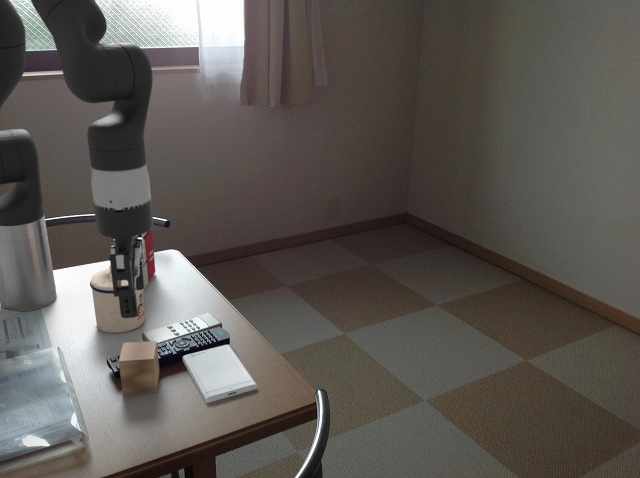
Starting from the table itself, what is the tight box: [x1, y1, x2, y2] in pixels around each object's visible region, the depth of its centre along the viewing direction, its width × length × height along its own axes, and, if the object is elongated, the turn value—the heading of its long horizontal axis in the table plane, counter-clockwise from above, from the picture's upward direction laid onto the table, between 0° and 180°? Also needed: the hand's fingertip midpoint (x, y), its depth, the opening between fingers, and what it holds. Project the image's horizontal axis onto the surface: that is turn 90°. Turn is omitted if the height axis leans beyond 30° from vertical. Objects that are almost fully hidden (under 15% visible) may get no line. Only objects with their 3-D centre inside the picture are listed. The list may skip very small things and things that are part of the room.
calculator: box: [141, 229, 156, 292], centre depth 120 cm, size 11×4×15 cm, turn 179°
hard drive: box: [182, 344, 258, 404], centre depth 94 cm, size 2×8×12 cm
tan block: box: [118, 340, 160, 395], centre depth 91 cm, size 5×5×6 cm
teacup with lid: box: [89, 264, 146, 334], centre depth 108 cm, size 12×9×12 cm
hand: (133, 302), depth 86 cm, fingers open, 8 cm apart
